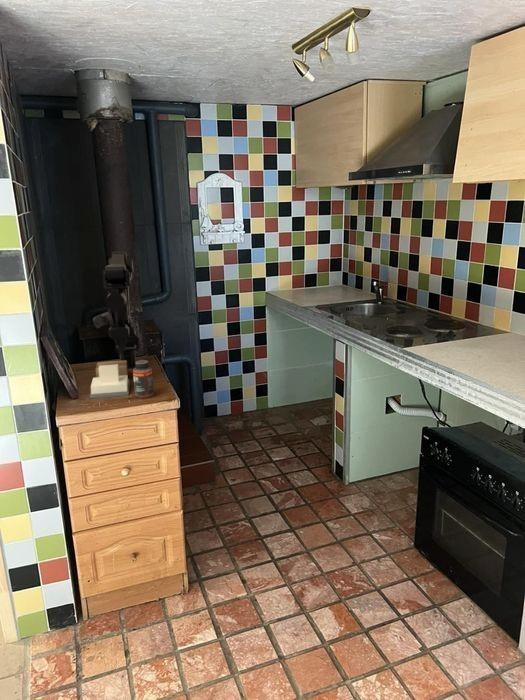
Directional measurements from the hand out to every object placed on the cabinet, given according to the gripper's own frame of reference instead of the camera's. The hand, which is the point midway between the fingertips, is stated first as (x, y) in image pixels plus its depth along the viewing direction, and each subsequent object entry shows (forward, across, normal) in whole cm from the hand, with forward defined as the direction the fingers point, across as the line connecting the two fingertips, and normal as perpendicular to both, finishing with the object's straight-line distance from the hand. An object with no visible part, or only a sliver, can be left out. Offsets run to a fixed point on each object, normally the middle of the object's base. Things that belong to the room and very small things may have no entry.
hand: (122, 349), depth 183 cm
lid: (+11, +7, -4) cm, 14 cm away
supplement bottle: (+11, +15, +7) cm, 20 cm away
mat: (+11, +7, -4) cm, 14 cm away
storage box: (+12, -5, -5) cm, 13 cm away
